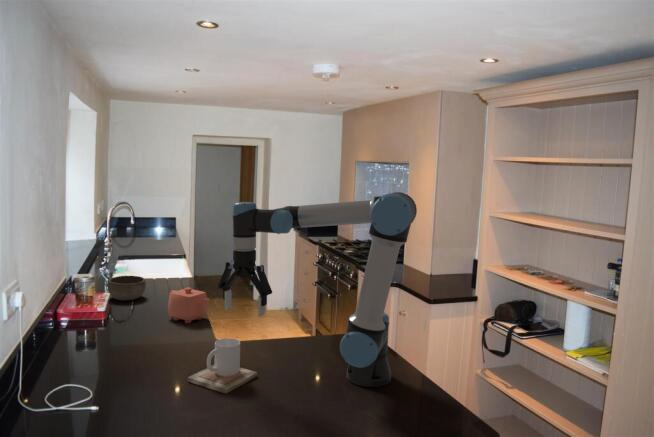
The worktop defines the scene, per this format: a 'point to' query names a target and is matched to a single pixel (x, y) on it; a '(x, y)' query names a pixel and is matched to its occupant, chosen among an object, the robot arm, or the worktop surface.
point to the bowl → (126, 287)
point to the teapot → (187, 304)
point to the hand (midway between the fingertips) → (244, 312)
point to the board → (221, 379)
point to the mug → (225, 357)
